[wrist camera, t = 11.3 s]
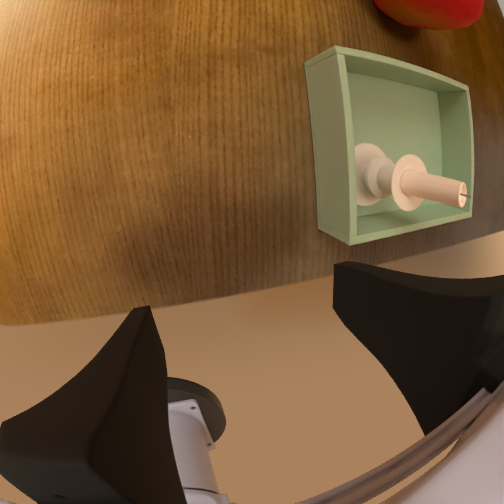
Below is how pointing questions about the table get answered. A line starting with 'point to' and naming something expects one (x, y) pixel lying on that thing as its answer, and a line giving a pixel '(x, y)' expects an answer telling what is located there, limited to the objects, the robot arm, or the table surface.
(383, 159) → the candle
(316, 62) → the open box
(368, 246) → the table surface
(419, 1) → the apple
